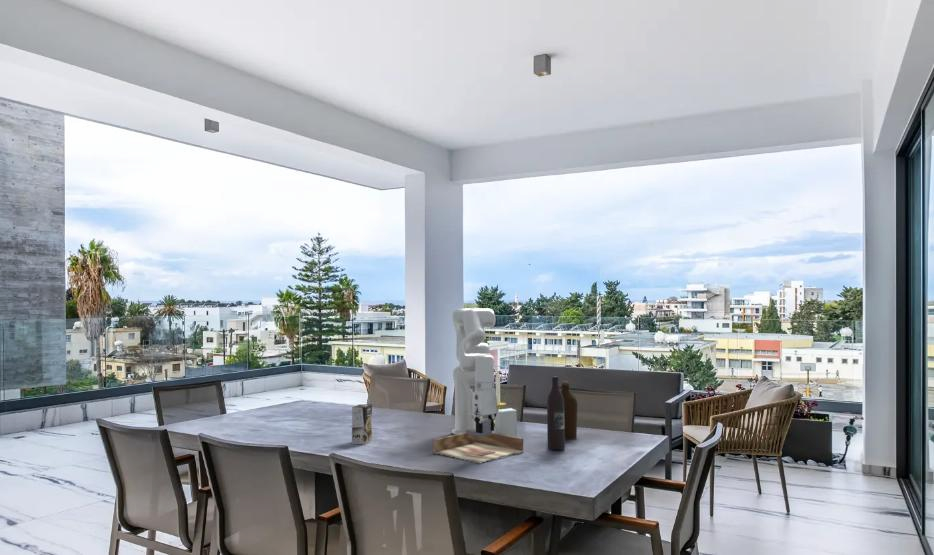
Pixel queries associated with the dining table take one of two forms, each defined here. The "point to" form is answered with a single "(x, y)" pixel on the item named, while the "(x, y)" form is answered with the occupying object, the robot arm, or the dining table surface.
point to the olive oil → (569, 411)
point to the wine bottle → (555, 418)
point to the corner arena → (478, 446)
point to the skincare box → (506, 422)
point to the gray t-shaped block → (486, 429)
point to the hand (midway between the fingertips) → (485, 431)
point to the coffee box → (362, 424)
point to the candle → (498, 392)
